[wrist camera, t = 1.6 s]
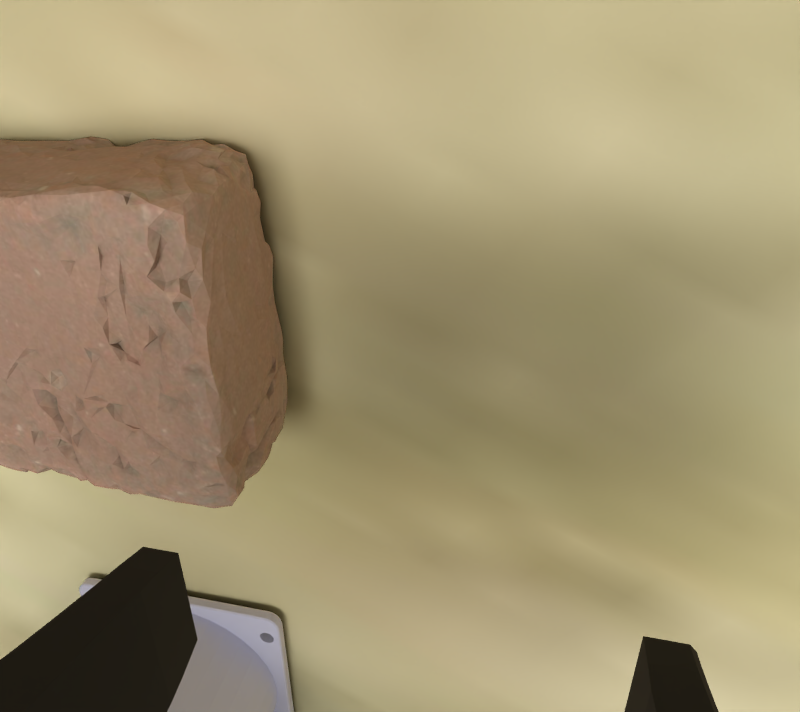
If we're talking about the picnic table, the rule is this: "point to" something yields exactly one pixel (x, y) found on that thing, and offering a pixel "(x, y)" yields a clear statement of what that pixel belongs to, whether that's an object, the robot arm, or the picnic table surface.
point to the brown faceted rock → (137, 317)
